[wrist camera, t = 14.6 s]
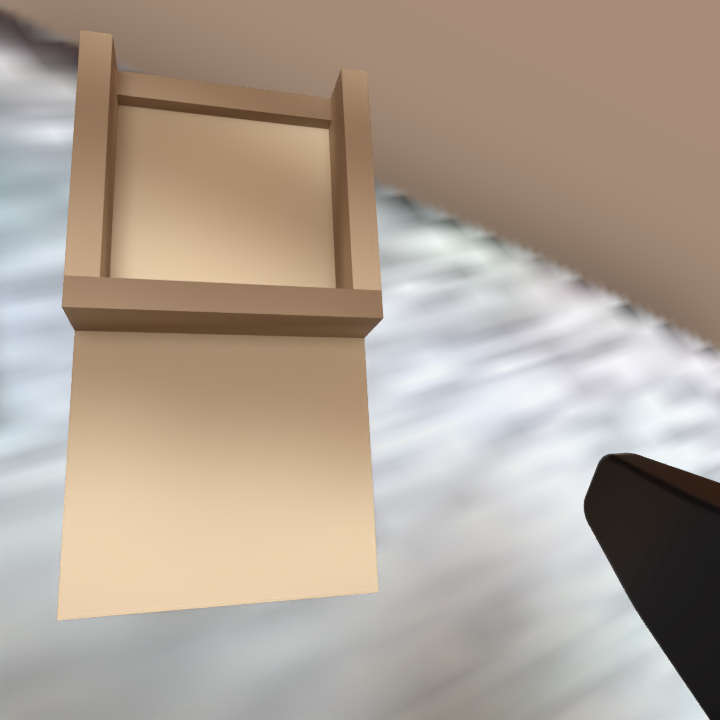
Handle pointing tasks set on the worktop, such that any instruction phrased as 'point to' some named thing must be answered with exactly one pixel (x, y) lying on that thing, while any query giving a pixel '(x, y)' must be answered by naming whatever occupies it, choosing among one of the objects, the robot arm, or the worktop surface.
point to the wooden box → (217, 343)
